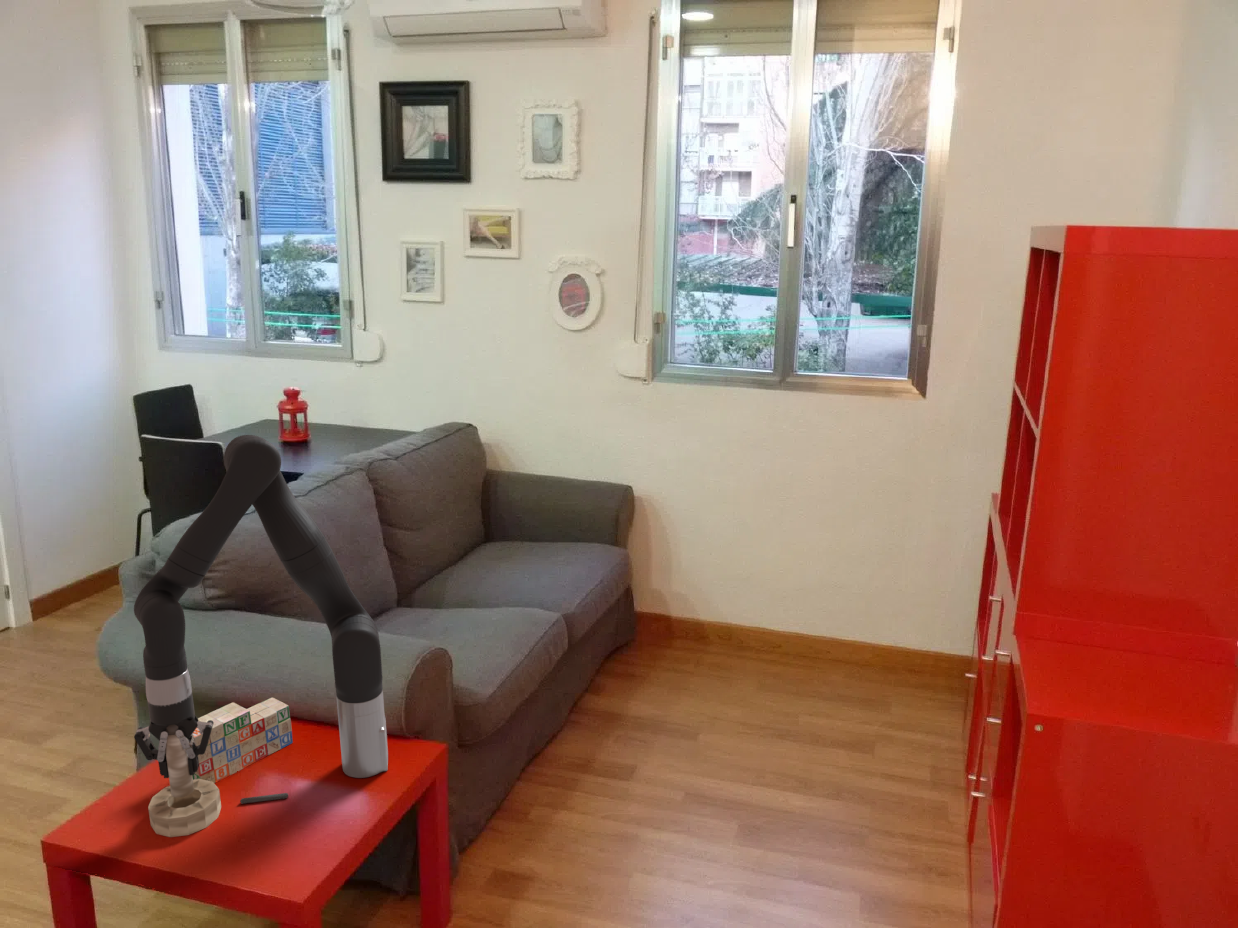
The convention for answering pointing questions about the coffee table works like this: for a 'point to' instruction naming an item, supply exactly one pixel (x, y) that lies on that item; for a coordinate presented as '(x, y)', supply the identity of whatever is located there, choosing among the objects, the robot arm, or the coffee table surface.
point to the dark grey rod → (264, 798)
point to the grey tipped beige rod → (177, 765)
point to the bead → (185, 810)
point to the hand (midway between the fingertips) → (180, 773)
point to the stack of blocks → (242, 737)
